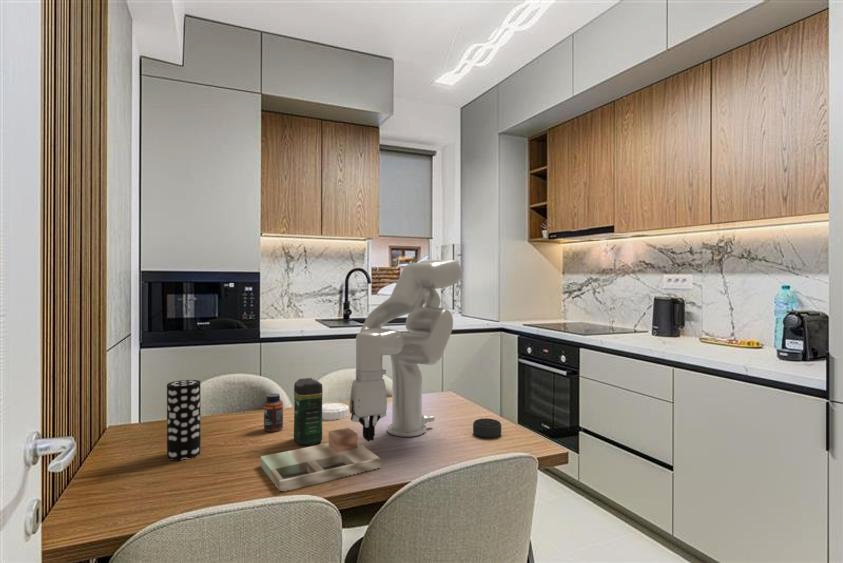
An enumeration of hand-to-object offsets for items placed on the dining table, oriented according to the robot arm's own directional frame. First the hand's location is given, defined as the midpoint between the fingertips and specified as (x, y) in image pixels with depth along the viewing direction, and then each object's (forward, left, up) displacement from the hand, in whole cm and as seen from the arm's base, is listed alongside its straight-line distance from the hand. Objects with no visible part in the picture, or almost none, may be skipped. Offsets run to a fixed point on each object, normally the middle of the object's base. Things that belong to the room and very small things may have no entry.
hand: (368, 439), depth 135 cm
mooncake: (-4, -38, -4) cm, 38 cm away
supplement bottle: (+18, -33, -3) cm, 38 cm away
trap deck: (+16, +4, -3) cm, 17 cm away
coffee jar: (+12, -17, -3) cm, 21 cm away
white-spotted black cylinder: (+45, -24, -3) cm, 51 cm away
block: (+8, 0, -1) cm, 8 cm away
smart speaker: (-38, +7, -4) cm, 39 cm away
